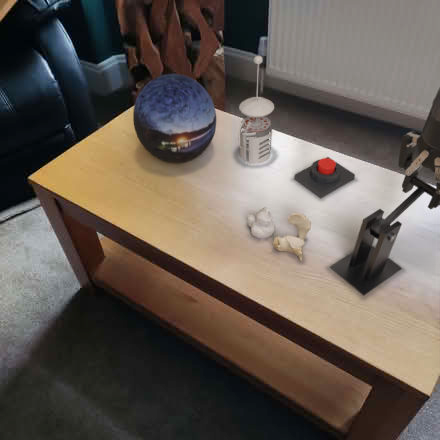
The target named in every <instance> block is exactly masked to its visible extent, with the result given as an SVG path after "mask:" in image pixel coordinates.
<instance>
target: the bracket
mask: <svg viewBox="0 0 440 440" xmlns="http://www.w3.org/2000/svg"><path fill="white" fill-rule="evenodd" d="M384 214H385V211H384V210H383V209H381V208H379V209H377V210H376V211H374V212H372V213H371V214H369V215H367V216H366V217H364V218H363V219H362V222H361V225H360V229H359V232H358V234H357V237H356V241H355V245H354V247H353V250H352V252H351V253H349V254H348V255H346V256H345V257H343V258H342V259H340V260H339V261H337V262H335V263H334V264H332V265H331V266H329V269H330V270H331V271H333V272H334V273H335V274H336V275H337V276H339V277H340V278H341V279H342V280H343V281H345V282H346V283H347V284H348V285H350V286H351V287H352V289H355V291H356V292H358V293H359V294H361V295H362V296H363V297H365V296H366V295H367V294H369V293H370V292H372V291H373V290H375V289H376V288H377V287H379V286H380V285H381V284H383V283H385V282H386V281H387V280H388V279H390V278H391V277H393V276H394V275H396V274H397V273H398V272H400V271H401V270H403V268H402V267H401V266H400V265H399V264H397V263H396V262H395V261H393V260H392V259H391V258H389V257H390V254H391V252H392V250H393V247H394V245H395V242H396V240H397V237H398V235H399V233H400V230H401V227H402V225H403V223H401V222H400V221H398V220H396V221H394V222H393V223H391V224H390V226H389V227H388V228H386V229H384V230H383V231H381V233H380V236H379V238H378V239H377V241H376V243H375V247H374V246H373V244H374V242H375V239H376V238H375V237H374V236H372V235H371V234H370V227H371V226H372V225H373V224H374V223H375V222H376V221H377V220H378V219H379V218H380V217H382V218H383V217H384Z"/></svg>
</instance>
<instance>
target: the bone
mask: <svg viewBox="0 0 440 440" xmlns="http://www.w3.org/2000/svg"><path fill="white" fill-rule="evenodd" d="M287 221H288V223H289V224H290V225H292V226H295V227H296V229H297V236H294V235H288V234H287V235H284V236H283V237H281V236H279V235H277V236H276V237H274V238H273V242H272V247H273V248H274V249H276V250H277V251H279V252H287V253H288V252H289V253H292V254H294V255H295V256H297V258H298V259H299V260H300V261H301V262H302V261H303V255H304V254H303V252H302V249H303V248H302V247H303V245H304V244H306V242H305V239H306V237H307V235H308V233H309V231H310V230H311V229H312V222H311V220H310V219H309V218H308V217H307V215H305V214H303V213H299V212H292V214H290V215H289V216H288V217H287Z"/></svg>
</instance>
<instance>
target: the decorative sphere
mask: <svg viewBox="0 0 440 440" xmlns="http://www.w3.org/2000/svg"><path fill="white" fill-rule="evenodd" d="M133 106H134V107H133V115H132V116H133V118H132V120H133V128H134V131H135V134H136V136H137V139H138V141H139V142H140V144H141V145H142V147H143V148H144V149H145V150H146V151H147V152H148V153H149V154H150V155H152V156H153V158H154V157H155V158H156V159H158V160H160V161H162V162H166V163H170V164H182V163H187V162H191V161H193V160H195V159H196V158H198V157H200V156H201V155H202V154H203V153H204V152H205V151H206V150H207V149H208V147H209V146H210V145H211V143H212V141H213V139H214V136H215V133H216V128H217V111H216V108H215V103H214V101H213V99H212V97H211V96H210V94H209V92H208V91H207V90H206V88H205V87H204V86H203V85H202V84H201V83H199V82H198V81H197V80H195V79H193V78H192V77H190V76H187V75H184V74H179V73H168V74H162V75H160V76H157V77H155V78H153V79H151V80H150V81H149V82H148V83H146V84H145V86H144V87H143V88H142V89H141V90H140V92H139V93H138V95H137V97H136V100H135V103H134V105H133Z"/></svg>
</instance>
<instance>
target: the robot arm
mask: <svg viewBox="0 0 440 440" xmlns="http://www.w3.org/2000/svg"><path fill="white" fill-rule="evenodd" d="M431 104H432V105H431V107H430V110H429V112H428V115H427V117H426V120H425V122H424V125H423V128H422V130H421V135H420V134H417V131H415V130H412V131H409V132H407V133H406V134H404V135H402V137H401V139H400V147H399V156H398V167H399V168H400V169H404V173H405V175H404V178H403V181H402V183H401V188H402V190H401V191H402V193H404V194H407V193H409V192H410V191H412V190H413V188H414V187H415V186H414V185H412V184H411V180H412V179H413V178H414V177H418V178H419V174H420V172H418V171H419V170H421V168H423V167H424V168H427V169H429V170H431V172H433V173H434V182H435V184H436V185H435V188H436V191H435V192H434V194H433V196H431V199H430V200H429V203H428V205H427V208H428V209H430V210H433V209H437V208H438V207H440V87H439V88H438V90H437V92H436V94H435V97H434V98H433V100H432V103H431ZM415 147H416V149H417V152H418V156H417V157H416V158H415V159H414V156H415Z"/></svg>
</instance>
